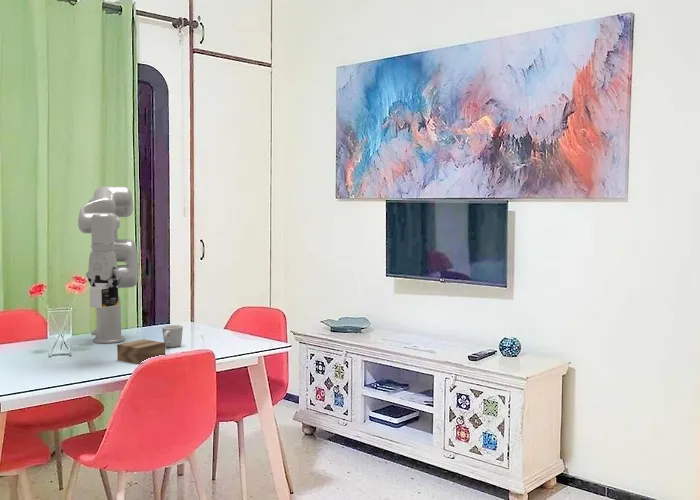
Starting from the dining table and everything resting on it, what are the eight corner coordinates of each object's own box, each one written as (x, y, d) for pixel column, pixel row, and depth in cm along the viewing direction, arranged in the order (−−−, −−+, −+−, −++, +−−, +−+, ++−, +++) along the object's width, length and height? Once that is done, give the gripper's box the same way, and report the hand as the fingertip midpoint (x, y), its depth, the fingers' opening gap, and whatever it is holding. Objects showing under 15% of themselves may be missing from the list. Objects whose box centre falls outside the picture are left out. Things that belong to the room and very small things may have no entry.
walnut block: (117, 360, 255) (117, 344, 255) (143, 354, 265) (143, 339, 265) (139, 364, 249) (138, 348, 248) (165, 358, 259) (165, 342, 258)
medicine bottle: (102, 308, 247) (101, 274, 246) (89, 306, 251) (88, 273, 250) (119, 305, 252) (118, 272, 252) (106, 304, 256) (105, 271, 256)
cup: (174, 350, 273) (174, 329, 272) (155, 349, 274) (155, 329, 274) (186, 344, 283) (186, 325, 283) (168, 344, 285) (167, 324, 284)
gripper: (77, 248, 251) (78, 297, 252) (113, 249, 243) (114, 299, 244) (93, 246, 257) (94, 294, 259) (129, 248, 250) (130, 297, 251)
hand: (104, 296), depth 251 cm, fingers closed on medicine bottle, 7 cm apart
